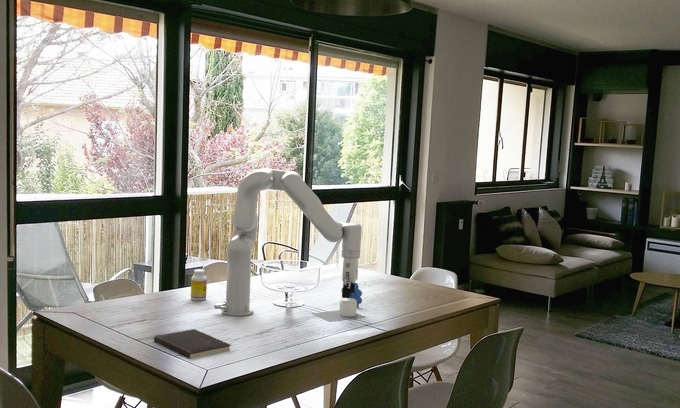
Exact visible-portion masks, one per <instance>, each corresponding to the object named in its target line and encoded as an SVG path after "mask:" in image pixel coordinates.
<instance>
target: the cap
mask: <svg viewBox="0 0 680 408" xmlns="http://www.w3.org/2000/svg"><path fill="white" fill-rule="evenodd" d="M357 308H358V307H357V302H356V299H353V298H342V297H341V299H340V301H339V310H340V315H343V316H355V315H356V313H357Z"/></svg>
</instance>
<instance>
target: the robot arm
mask: <svg viewBox="0 0 680 408" xmlns="http://www.w3.org/2000/svg"><path fill="white" fill-rule="evenodd" d="M266 190H273V191H283V192H284V193H285V194H286V195H287V196H288V198H290V199H291V200H292V202H293V203H294V204H295V205H296V207H298V208H299V209H300V211H301V212H302V213H303V214H304V216H306V217H305V218H307V219H308V220H309V221H310V223H311V224H312V225H313V227H314V228H316V230H317V231H318V232H319V233H320V234H321V236H323V239H325V240H326V241H328V242H330V243H337V242H339V241H340V240H342V242H341V244H342V245H341V258H343V262H342V264H343V265H342V273H341V274H342V275H341V277H342V278H341V280H342V282H343V283H342V287H341V290H342V292H341V299H342V298H350V293H354V289H355V284H354V283H356V281H357V280H358V278H359V277H358V276H359V259H361V247H362V232H363V231H362V230H363V227H362V225H361V224H360V223H354V222H341V221H336V220H335V219H334V218H333V217H332V216H331V215H330V213H329V212H328V211H327V210H326V208H325V207H324V205H323V203H322V202H321V199H320V198H319V196H318V195H317V194H315V192H314V191H313V190H312V189H311V188H310V187H309V186H308V185H307V183H306V182H305V181H304V180H303V178H302V176H301V175H300V174H299V173H298V172H296V171H292V170H291V171H290V170H281V169H275V168H274V169H273V168H260V169H256V170H254V171H252V172H250V173H248V174H246V175H245V176H244V177H242V179H241V180H240V182H239V184H238V187H237V192H236V196H235V197H236V199H235V203H234V208H233V210H234V211H233V215H232V222H231V223H232V226H233V231H232V238H230V240H229V241H228V243H227V246H226V267H227V268H226V291H225V294H226V295H225V300H223V302H222V303H217V304H216V303H215V304H214V305H213V306H214V309H215V310H220V311H221V313H222V314H224V315H226V316H233V317H236V316H237V317H243V316H249V315H251V314H253V313H254V309H253V308H252V307H250V304H251V303H250V301H251V299H250V298H251V280H252V279H251V275H252V273H251V272H252V271H251V270H252V269H251V268H252V266H251V265H252V261H251V260H252V252H253V250H254V248H255V244H256V243H255V242H256V237H257V230H258V220H259V217H258V216H259V215H258V213H257V212H256V211H257V210H256V209H257V204H258V196H259V194H260V192H262V191H266Z"/></svg>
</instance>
